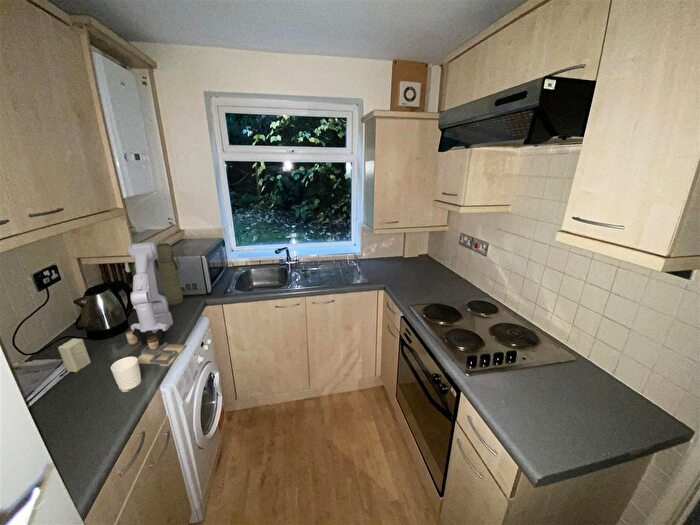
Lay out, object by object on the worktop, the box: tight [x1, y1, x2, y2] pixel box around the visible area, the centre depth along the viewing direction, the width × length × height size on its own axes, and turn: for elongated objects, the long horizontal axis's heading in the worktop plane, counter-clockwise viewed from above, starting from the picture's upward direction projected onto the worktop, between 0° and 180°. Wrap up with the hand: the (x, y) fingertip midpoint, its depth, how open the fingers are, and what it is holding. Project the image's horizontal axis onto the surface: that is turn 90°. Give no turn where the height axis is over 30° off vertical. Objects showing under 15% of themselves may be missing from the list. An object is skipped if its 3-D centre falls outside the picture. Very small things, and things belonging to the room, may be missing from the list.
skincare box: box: [57, 337, 92, 373], centre depth 116 cm, size 6×4×12 cm
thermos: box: [154, 242, 184, 306], centre depth 166 cm, size 9×12×35 cm
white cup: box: [110, 356, 142, 393], centre depth 108 cm, size 8×8×10 cm
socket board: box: [136, 341, 187, 367], centre depth 126 cm, size 13×15×2 cm
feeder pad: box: [111, 340, 143, 358], centre depth 129 cm, size 11×6×1 cm, turn 178°
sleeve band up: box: [147, 335, 159, 351], centre depth 127 cm, size 4×4×6 cm
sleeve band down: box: [125, 330, 140, 347], centre depth 131 cm, size 4×4×6 cm
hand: (153, 343), depth 127 cm, fingers open, 7 cm apart
